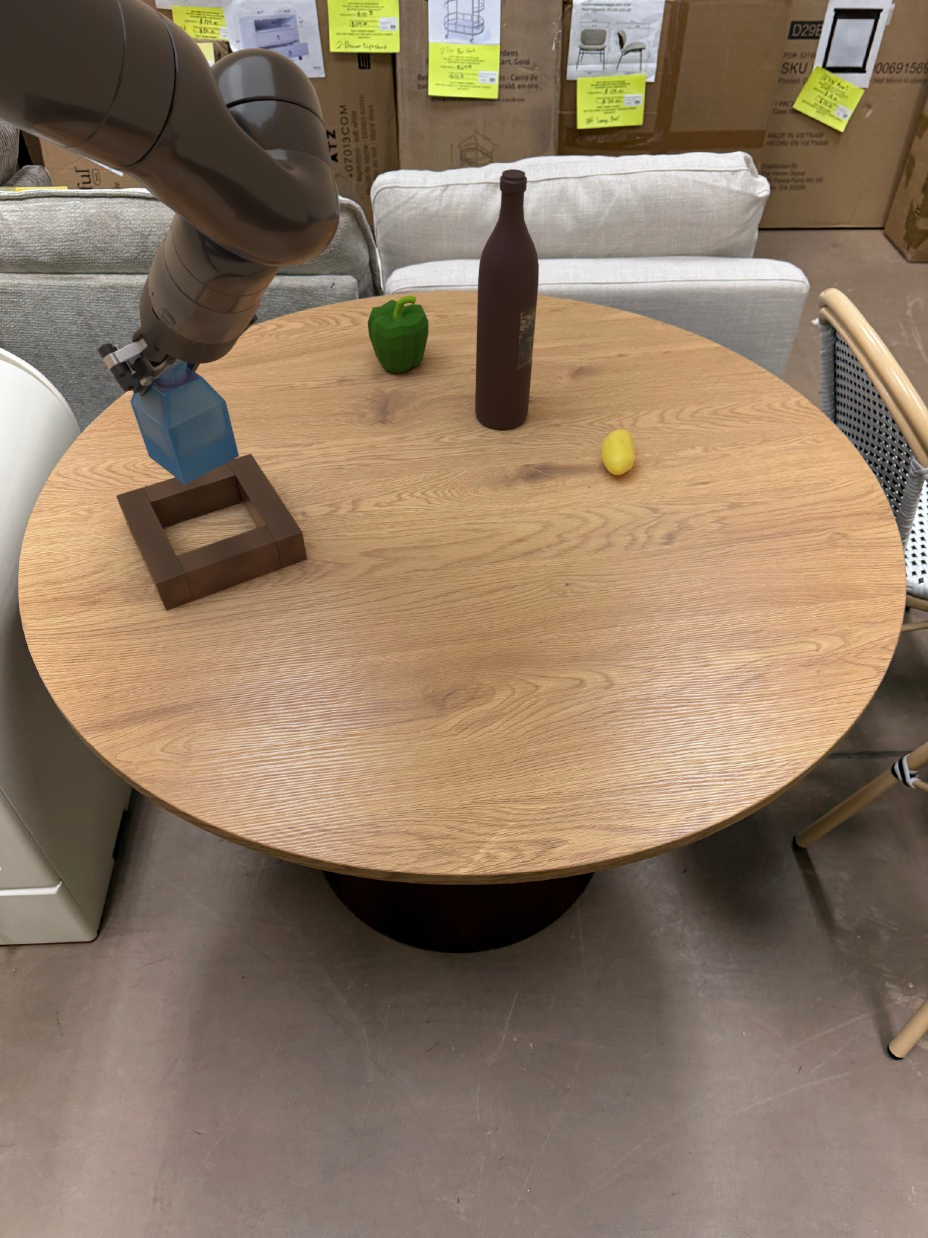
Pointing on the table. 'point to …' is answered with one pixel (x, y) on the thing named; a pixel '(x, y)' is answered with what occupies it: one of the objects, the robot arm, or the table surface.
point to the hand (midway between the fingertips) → (160, 375)
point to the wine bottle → (506, 312)
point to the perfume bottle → (185, 424)
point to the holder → (220, 560)
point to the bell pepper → (398, 334)
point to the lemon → (618, 452)
